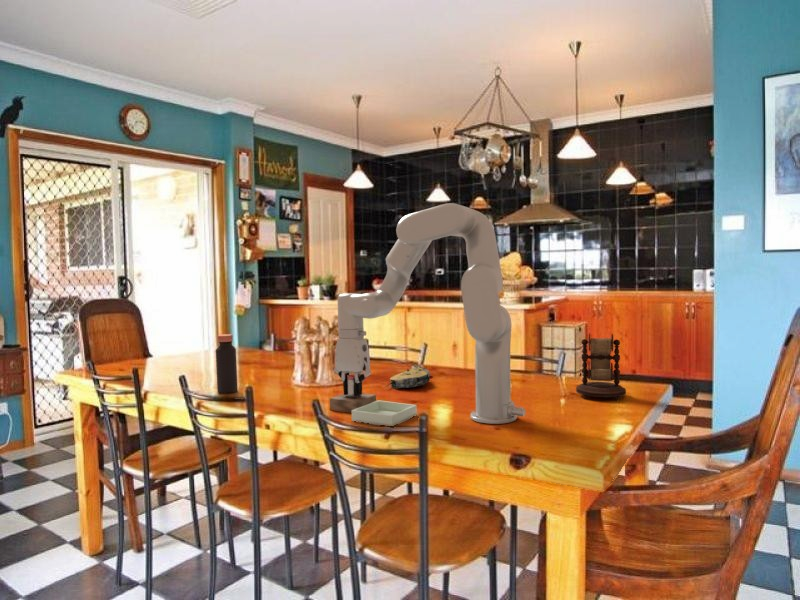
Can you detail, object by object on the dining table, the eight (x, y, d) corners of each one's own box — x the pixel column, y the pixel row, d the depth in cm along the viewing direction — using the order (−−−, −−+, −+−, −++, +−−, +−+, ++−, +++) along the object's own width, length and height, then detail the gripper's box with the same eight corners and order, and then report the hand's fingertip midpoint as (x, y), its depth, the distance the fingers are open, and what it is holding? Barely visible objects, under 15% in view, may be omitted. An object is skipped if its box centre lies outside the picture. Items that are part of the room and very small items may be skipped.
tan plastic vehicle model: (441, 359, 220) (419, 374, 191) (443, 373, 220) (422, 391, 191) (406, 363, 224) (380, 379, 196) (409, 378, 224) (383, 395, 196)
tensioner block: (376, 406, 174) (375, 394, 174) (356, 413, 165) (356, 401, 165) (350, 402, 179) (349, 391, 179) (329, 409, 171) (329, 398, 171)
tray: (416, 415, 162) (416, 405, 162) (391, 427, 151) (391, 416, 151) (378, 410, 169) (378, 400, 169) (351, 421, 158) (351, 410, 157)
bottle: (231, 394, 196) (229, 336, 195) (213, 393, 197) (211, 336, 196) (241, 389, 203) (238, 333, 201) (223, 389, 204) (221, 333, 203)
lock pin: (360, 407, 173) (359, 374, 172) (354, 409, 170) (353, 376, 170) (352, 406, 175) (351, 373, 174) (345, 408, 172) (344, 375, 171)
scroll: (624, 392, 184) (624, 330, 183) (627, 403, 170) (627, 336, 169) (576, 390, 189) (576, 330, 188) (576, 400, 175) (575, 335, 174)
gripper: (380, 334, 170) (382, 394, 171) (337, 331, 179) (339, 389, 180) (366, 337, 163) (368, 400, 165) (321, 334, 172) (323, 394, 173)
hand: (352, 394), depth 172 cm, fingers closed on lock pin, 3 cm apart
